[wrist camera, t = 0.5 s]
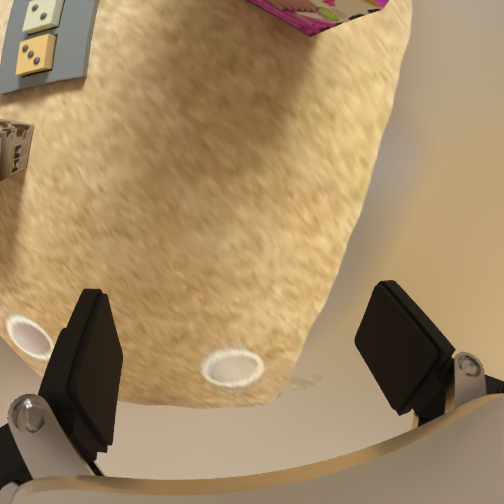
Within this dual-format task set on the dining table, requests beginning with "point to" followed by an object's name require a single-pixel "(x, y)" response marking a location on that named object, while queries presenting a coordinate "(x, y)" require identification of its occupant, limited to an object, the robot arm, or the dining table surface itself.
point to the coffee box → (14, 147)
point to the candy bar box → (319, 12)
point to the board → (66, 52)
